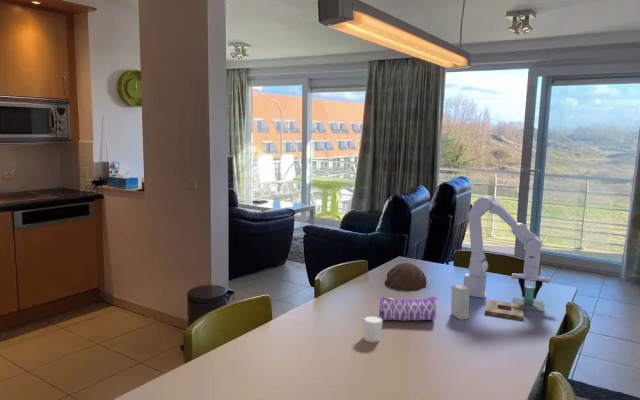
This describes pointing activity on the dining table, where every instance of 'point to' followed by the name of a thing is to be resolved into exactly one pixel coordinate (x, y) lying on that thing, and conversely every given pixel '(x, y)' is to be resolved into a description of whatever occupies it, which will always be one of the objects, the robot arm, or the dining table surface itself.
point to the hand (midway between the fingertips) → (528, 297)
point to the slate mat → (530, 305)
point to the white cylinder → (372, 328)
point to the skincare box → (460, 301)
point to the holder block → (513, 314)
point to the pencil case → (407, 309)
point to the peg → (529, 295)
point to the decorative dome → (406, 277)
